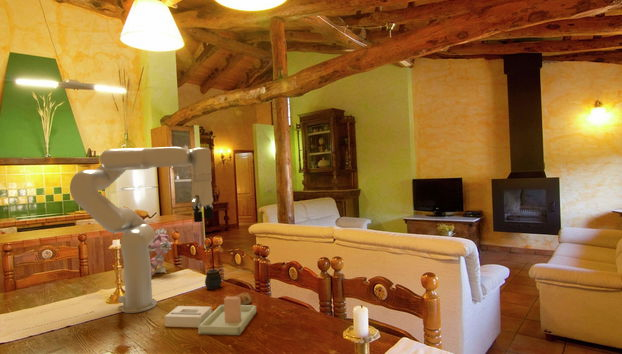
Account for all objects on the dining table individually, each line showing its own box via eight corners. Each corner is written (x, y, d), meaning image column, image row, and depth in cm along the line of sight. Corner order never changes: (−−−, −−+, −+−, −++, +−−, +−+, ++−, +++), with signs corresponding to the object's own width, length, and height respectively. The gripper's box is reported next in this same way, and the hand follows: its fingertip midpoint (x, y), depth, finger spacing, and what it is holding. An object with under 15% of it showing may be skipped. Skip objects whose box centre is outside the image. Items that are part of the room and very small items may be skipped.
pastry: (234, 310, 131) (233, 300, 131) (223, 307, 135) (222, 297, 135) (253, 302, 138) (252, 293, 138) (242, 299, 143) (241, 290, 142)
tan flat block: (224, 322, 119) (223, 299, 119) (227, 318, 122) (226, 296, 122) (238, 322, 119) (237, 299, 119) (241, 319, 121) (240, 296, 121)
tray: (198, 333, 113) (198, 326, 113) (220, 311, 130) (220, 304, 130) (239, 335, 111) (239, 327, 111) (256, 312, 128) (256, 305, 128)
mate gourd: (219, 284, 162) (218, 263, 162) (224, 288, 156) (223, 266, 156) (203, 287, 159) (202, 265, 158) (208, 292, 152) (207, 269, 152)
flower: (119, 273, 181) (120, 233, 172) (160, 259, 199) (164, 222, 189) (136, 296, 171) (139, 255, 161) (178, 279, 188) (183, 241, 179)
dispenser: (165, 326, 119) (164, 315, 119) (178, 315, 128) (178, 305, 128) (200, 327, 117) (200, 316, 117) (211, 316, 126) (211, 305, 126)
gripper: (203, 178, 150) (204, 217, 150) (182, 179, 133) (184, 223, 133) (219, 177, 149) (221, 216, 149) (200, 178, 132) (202, 223, 132)
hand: (203, 220), depth 141 cm, fingers open, 9 cm apart
